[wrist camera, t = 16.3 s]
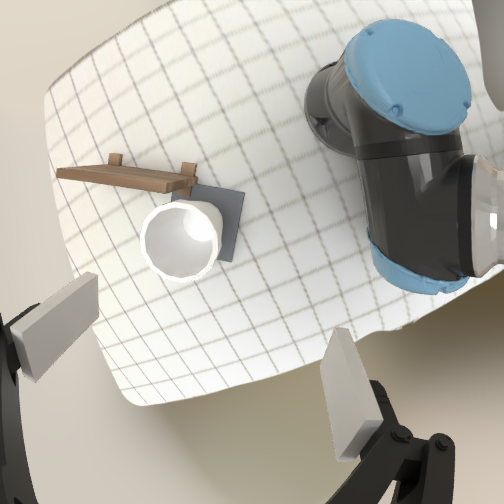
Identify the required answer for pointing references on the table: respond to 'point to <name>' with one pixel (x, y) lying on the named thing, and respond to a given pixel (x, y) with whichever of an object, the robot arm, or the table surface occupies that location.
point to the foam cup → (182, 239)
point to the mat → (228, 207)
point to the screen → (133, 176)
